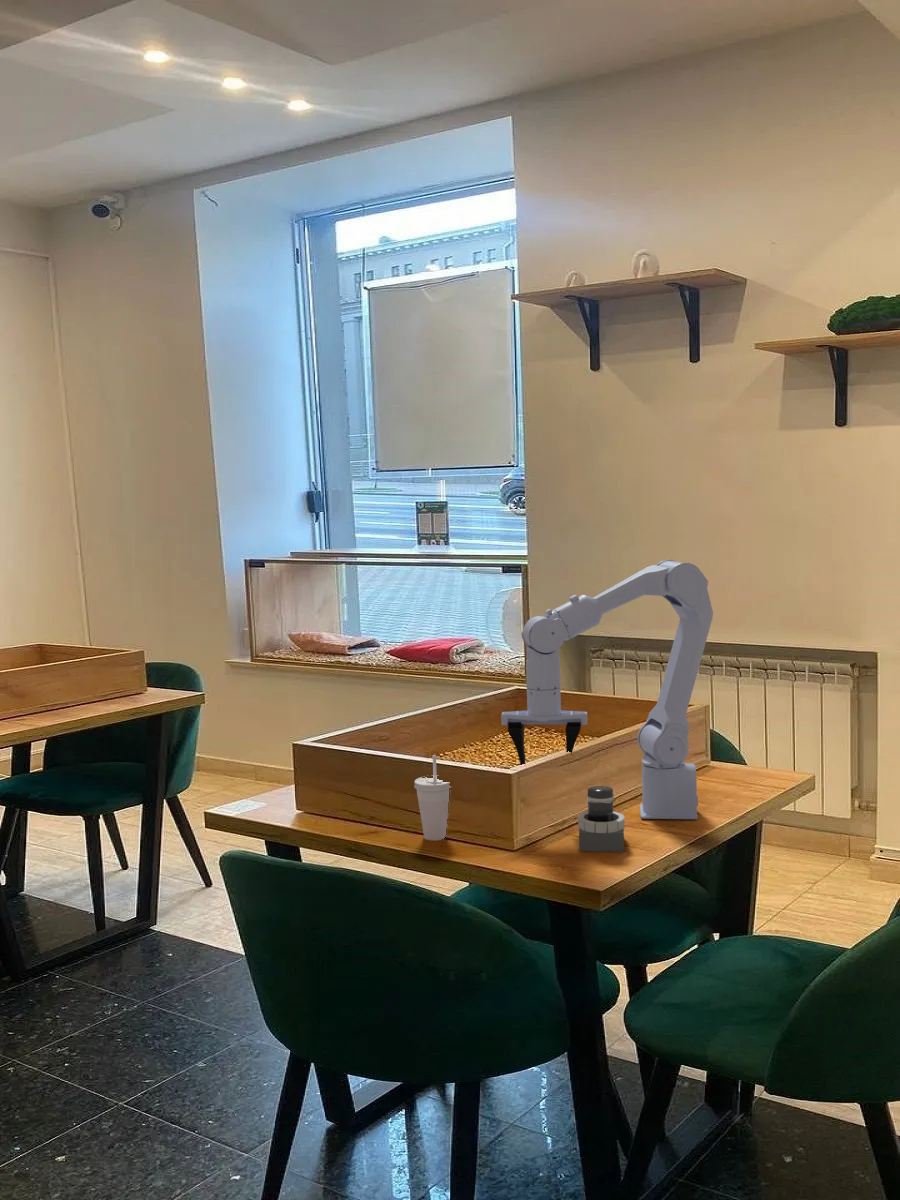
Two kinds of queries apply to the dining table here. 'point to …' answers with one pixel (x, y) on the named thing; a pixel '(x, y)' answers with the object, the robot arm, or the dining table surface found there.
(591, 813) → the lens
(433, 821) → the smoothie
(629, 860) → the dining table surface
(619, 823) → the block with notched collar
